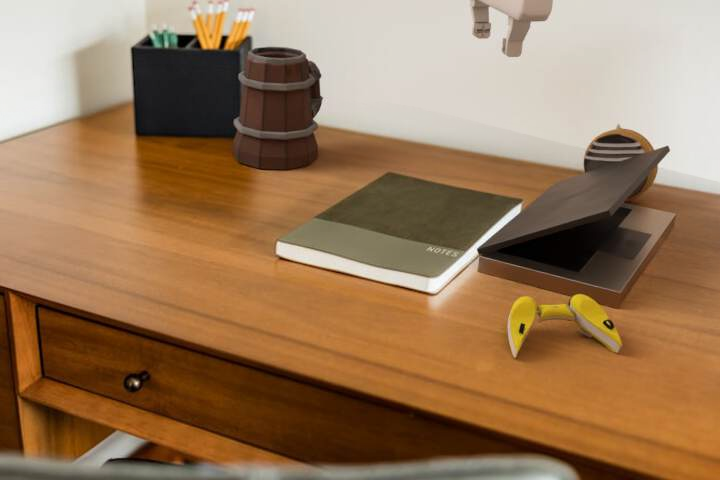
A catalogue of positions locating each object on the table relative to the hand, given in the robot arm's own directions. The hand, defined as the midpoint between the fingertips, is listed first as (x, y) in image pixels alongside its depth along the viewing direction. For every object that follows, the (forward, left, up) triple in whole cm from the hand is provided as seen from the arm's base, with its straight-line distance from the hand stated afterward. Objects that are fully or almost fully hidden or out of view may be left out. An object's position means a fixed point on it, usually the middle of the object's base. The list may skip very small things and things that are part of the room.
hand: (495, 46), depth 104 cm
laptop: (-15, +4, -21) cm, 25 cm away
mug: (+32, -4, -21) cm, 38 cm away
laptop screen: (-14, +4, -15) cm, 20 cm away
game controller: (-19, +27, -21) cm, 39 cm away
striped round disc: (-13, -15, -21) cm, 29 cm away
